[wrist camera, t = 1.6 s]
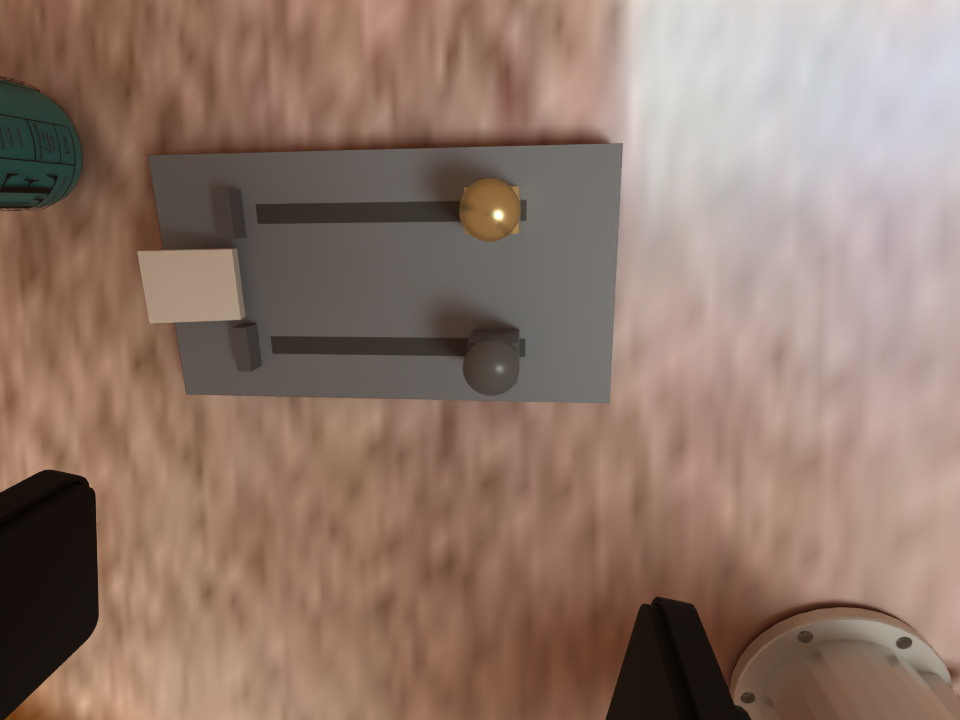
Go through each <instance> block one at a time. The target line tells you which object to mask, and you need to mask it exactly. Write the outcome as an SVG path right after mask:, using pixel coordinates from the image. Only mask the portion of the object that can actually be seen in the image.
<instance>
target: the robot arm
mask: <svg viewBox="0 0 960 720" xmlns="http://www.w3.org/2000/svg"><path fill="white" fill-rule="evenodd" d="M98 617H99V605H98V569H97V533H96V498H95V492H94V490H93V489H92V488H90V487H89V483H88V481H87V480H86V478H84V477H82V476H79V475H74V474H69V473H65V472H60V471H55V470H44V471H41V472H38V473H37V474H35V475H33V476H31V477H29V478H27V479H25V480H23V481H21V482H20V483H18V484H16V485H14V486H12V487H10V488H8V489H6V490H5V491H3V492H1V493H0V720H4V719H6V718H7V717H8V716H9V715H10V714H11V713H12V712H13V711H14V710H15V709H16V708H17V707H18V706H19V705H20V704H21V703H22V702H23V701H24V700H25V699H26V698H27V697H28V696H29V695H30V694H31V693H33V692H34V691H35V690H36V689H37V688H38V687H39V686H40V685H41V684H42V683H43V682H44V681H45V680H46V679H47V678H48V677H49V676H50V675H51V674H52V673H53V672H54V671H55V670H56V669H57V668H58V667H59V666H61V665H62V664H63V663H64V662H65V661H66V660H67V659H68V658H69V657H70V656H71V655H72V654H73V653H74V652H75V651H76V650H77V649H78V648H79V647H80V646H81V645H82V644H83V643H84V642H85V641H86V640H87V639H88V638H89V637H90V636H91V634H92V633H93V631H94V629H95V627H96V625H97V622H98ZM606 720H960V699H959V698H958V696H957V695H956V694H955V693H954V692H953V687H952V682H951V677H950V674H949V672H948V670H947V667H946V665H945V663H944V661H943V660H942V658H941V657H940V656H939V655H938V653H937V652H936V651H935V650H934V649H933V647H932V646H931V645H930V644H929V643H928V642H927V641H926V640H925V639H924V638H923V637H922V636H921V635H920V634H919V633H918V632H917V631H916V630H914V629H913V628H911V627H910V626H908V625H906V624H905V623H903V622H902V621H900V620H898V619H896V618H893V617H891V616H888V615H885V614H883V613H880V612H875V611H871V610H866V609H861V608H846V607H836V608H825V609H817V610H813V611H809V612H805V613H801V614H797V615H795V616H793V617H790V618H788V619H786V620H783V621H781V622H779V623H777V624H776V625H774V626H772V627H771V628H769V629H768V630H766V631H764V632H763V633H762V634H761V635H760V636H758V637H757V638H756V639H755V640H754V641H753V642H752V643H751V644H750V645H749V646H748V647H747V649H746V650H745V651H744V653H743V654H742V655H741V657H740V658H739V660H738V662H737V664H736V666H735V669H734V671H733V673H732V677H731V683H730V688H729V690H728V687H727V685H726V682H725V680H724V677H723V675H722V672H721V670H720V667H719V665H718V662H717V660H716V657H715V655H714V653H713V650H712V648H711V645H710V643H709V640H708V638H707V635H706V633H705V630H704V628H703V625H702V623H701V620H700V618H699V615H698V613H697V611H696V609H695V607H694V605H692V604H690V603H685V602H681V601H676V600H671V599H666V598H662V597H655V599H654V600H653V601H652V604H651V605H649V604H642V605H641V607H640V609H639V612H638V615H637V618H636V622H635V625H634V628H633V631H632V635H631V638H630V641H629V644H628V648H627V651H626V654H625V658H624V661H623V664H622V667H621V671H620V674H619V677H618V681H617V684H616V687H615V690H614V694H613V697H612V700H611V703H610V707H609V710H608V713H607V717H606Z"/></svg>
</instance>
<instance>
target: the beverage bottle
mask: <svg viewBox="0 0 960 720" xmlns="http://www.w3.org/2000/svg"><path fill="white" fill-rule="evenodd" d="M0 78H1V77H0ZM5 78H6V77H5ZM2 79H4V77H3V78H2ZM9 79H10V78H9ZM12 81H13V79H12ZM14 82H15V81H14ZM14 82H10V80H9V81H7V80H6V81H5V79H4V80H1V79H0V208H6V209H9V208H15V209H16V208H26V209H29V208H32V207H44V206H48V205H50V206H51V204H52V205H53V204H54V203H56V202H58V201H60V200H62V199H63V198H65V197H66V196H67V195H68V194H69V193H70V192H71V191H72V190H73V188H74V187H75V185H76V183H77V181H78V179H79V176H80V172H81V166H82V153H81V146H80V142H79V138H78V135H77V132H76V130H75V128H74V126H73V124H72V122H71V121H70V119H69V118H68V116H67V115H66V114H65V112H64V111H63V110H62V109H61V108H60V107H59V106H58V105H57V104H56V103H55V102H54V101H52V100H51V99H50V98H48V97H47V96H45V95H43V94H41V93H40V91H39V90H38V89H37V90H38V91H36V90H35V89H33V88H30V87H28V86H25V85H26V84H25V85H23V84H24V83H25V82H24V83H22V82H21V83H22V84H21V83H20V84H18V83H16V82H17V81H16V82H15V83H14ZM19 82H20V81H19ZM30 86H31V85H30ZM32 87H33V86H32ZM34 88H35V87H34ZM48 207H49V206H48ZM46 208H47V207H46ZM35 209H38V208H35ZM43 209H44V208H43ZM1 210H3V209H1ZM19 210H20V209H19ZM19 210H3V211H19ZM24 210H25V209H24ZM31 210H32V209H31ZM40 210H41V209H40ZM26 211H29V210H26ZM33 211H35V210H33Z"/></svg>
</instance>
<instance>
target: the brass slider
mask: <svg viewBox="0 0 960 720" xmlns="http://www.w3.org/2000/svg"><path fill="white" fill-rule="evenodd" d="M520 203H521V189H520V188H519V186H516V187H510V186H509V185H508V184H506V183H505V182H503V181H501V180H498V179H492V178H488V179H482V180H479V181H477V182H475V183H473V184H472V185H471V186H469V187H464V194H463V196H462V198H461V201H460V206H459V215H460V219H461V222H462V225H463V227H464V228H465V234H470V235H471V236H473V237H474V238H476V239H478V240H481V241H485V242H494V241H498V240H501V239H503V238H505V237H506V236H508V235H509V234H518V233H519V232H520V214H521V206H520Z"/></svg>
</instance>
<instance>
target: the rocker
mask: <svg viewBox="0 0 960 720" xmlns="http://www.w3.org/2000/svg"><path fill="white" fill-rule="evenodd" d="M137 254H138V259H139V265H140V271H141V277H142V283H143V288H144V294H145V300H146V306H147V312H148V318H149V323H173V322H198V321H223V320H241V319H243V318H244V317H245V308H244V300H243V292H242V284H241V276H240V268H239V260H238V252H237V248H220V249H174V250H143V251H137Z"/></svg>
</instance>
